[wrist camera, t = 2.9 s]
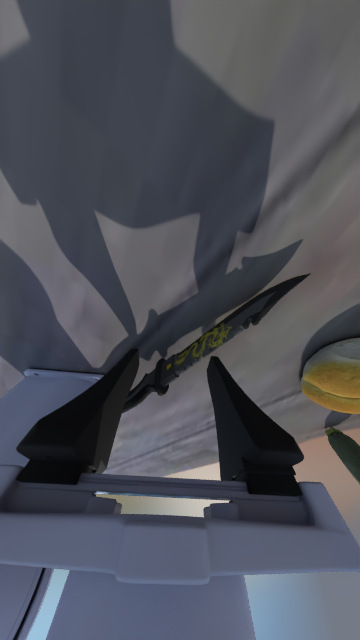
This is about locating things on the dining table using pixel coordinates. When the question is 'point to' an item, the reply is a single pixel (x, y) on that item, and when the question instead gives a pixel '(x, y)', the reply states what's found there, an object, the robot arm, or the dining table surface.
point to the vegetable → (346, 451)
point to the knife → (208, 342)
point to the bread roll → (334, 376)
